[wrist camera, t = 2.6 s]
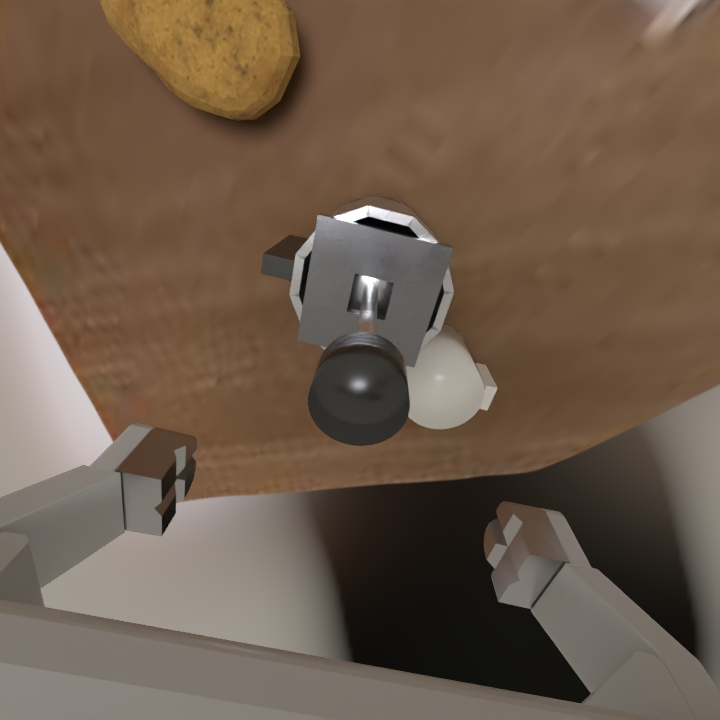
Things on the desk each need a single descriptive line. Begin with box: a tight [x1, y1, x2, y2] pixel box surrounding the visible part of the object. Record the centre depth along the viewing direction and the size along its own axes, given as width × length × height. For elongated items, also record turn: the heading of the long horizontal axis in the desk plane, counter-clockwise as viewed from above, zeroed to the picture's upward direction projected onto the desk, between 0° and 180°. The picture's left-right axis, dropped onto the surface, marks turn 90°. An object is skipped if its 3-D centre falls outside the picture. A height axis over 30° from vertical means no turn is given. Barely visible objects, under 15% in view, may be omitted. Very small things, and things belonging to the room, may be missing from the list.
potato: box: [99, 0, 300, 121], centre depth 26 cm, size 9×13×7 cm
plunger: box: [308, 274, 410, 446], centre depth 20 cm, size 8×8×15 cm
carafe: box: [261, 195, 454, 367], centre depth 30 cm, size 13×11×12 cm
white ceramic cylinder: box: [406, 324, 497, 429], centre depth 36 cm, size 8×7×8 cm
